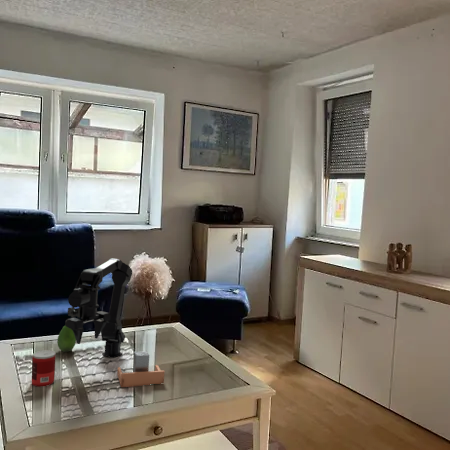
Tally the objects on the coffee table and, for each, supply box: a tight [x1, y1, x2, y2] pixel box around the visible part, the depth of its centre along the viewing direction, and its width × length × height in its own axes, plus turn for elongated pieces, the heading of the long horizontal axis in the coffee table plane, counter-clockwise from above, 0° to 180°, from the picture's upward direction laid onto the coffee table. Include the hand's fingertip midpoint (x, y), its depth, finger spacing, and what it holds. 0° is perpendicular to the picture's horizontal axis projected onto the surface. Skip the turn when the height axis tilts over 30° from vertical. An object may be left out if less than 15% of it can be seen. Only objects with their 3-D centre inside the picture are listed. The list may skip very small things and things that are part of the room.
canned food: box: [31, 349, 57, 387], centre depth 172 cm, size 8×8×11 cm
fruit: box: [57, 325, 77, 353], centre depth 206 cm, size 8×8×12 cm
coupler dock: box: [116, 364, 166, 388], centre depth 181 cm, size 12×16×5 cm
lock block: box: [132, 350, 150, 372], centre depth 180 cm, size 5×5×10 cm
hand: (87, 341), depth 185 cm, fingers open, 9 cm apart
